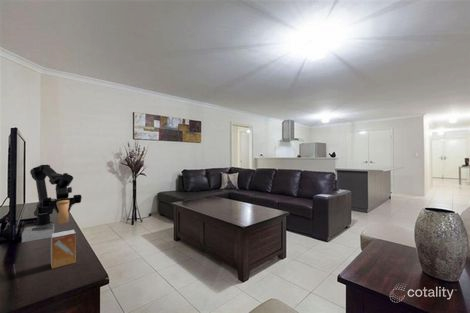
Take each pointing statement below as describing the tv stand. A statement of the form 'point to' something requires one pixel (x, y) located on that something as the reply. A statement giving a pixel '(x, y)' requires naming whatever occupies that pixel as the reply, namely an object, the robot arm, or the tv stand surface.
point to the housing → (37, 232)
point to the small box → (63, 248)
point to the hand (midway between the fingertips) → (63, 211)
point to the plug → (63, 211)
